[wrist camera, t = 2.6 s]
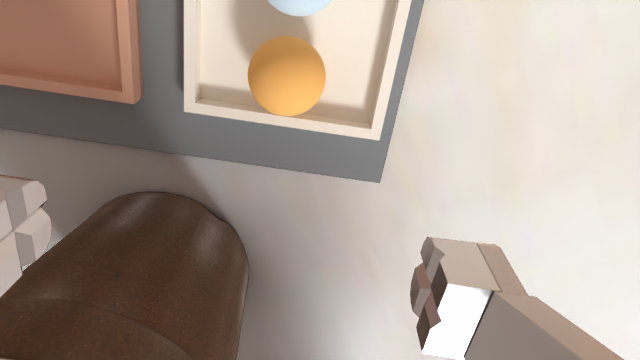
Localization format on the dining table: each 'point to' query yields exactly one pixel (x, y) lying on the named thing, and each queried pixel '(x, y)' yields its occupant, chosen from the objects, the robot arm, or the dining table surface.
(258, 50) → the orange ball
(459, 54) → the dining table surface
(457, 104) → the dining table surface
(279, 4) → the blue ball
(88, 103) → the slate mat
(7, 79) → the terracotta tray
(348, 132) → the cream tray
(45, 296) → the plant pot
